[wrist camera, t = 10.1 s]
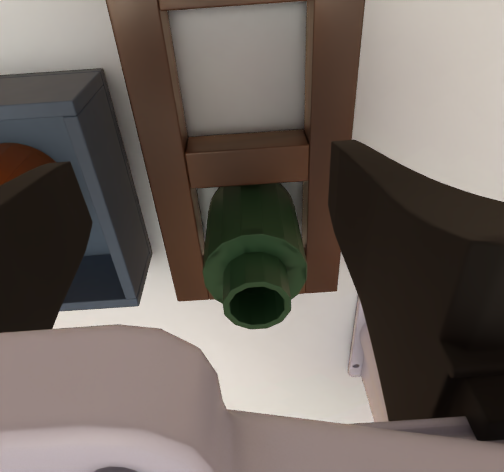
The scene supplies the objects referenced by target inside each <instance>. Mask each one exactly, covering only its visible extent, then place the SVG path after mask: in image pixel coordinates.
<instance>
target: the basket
mask: <svg viewBox="0 0 504 472" xmlns="http://www.w3.org/2000/svg"><path fill="white" fill-rule="evenodd" d="M0 143H18V144H23V145H27V146H30V147H33V148H35V149H37V150H39V151H41V152H43V153H45V154H46V155H48V156H49V157H51V158H52V159H53V160H54V161H55V162H68V161H70V162H71V165H72V167H73V170H74V173H75V175H76V178H77V181H78V184H79V186H80V189H81V192H82V194H83V197H84V200H85V202H86V205H87V208H88V211H89V213H90V216H91V219H92V221H93V224H92V228H91V233H90V237H89V241H88V244H87V248H86V251H85V254H84V256H83V259H82V261H81V263H80V265H79V268H78V270H77V272H76V275H75V277H74V279H73V281H72V284H71V286H70V288H69V290H68V292H67V295H66V297H65V299H64V301H63V304H62V306H61V308H60V310H59V311H72V310H87V309H103V308H118V307H133V306H139V304H140V300H141V296H142V292H143V288H144V284H145V280H146V276H147V272H148V268H149V264H150V260H151V257H152V251H151V247H150V243H149V240H148V236H147V232H146V228H145V225H144V221H143V217H142V213H141V210H140V206H139V202H138V198H137V195H136V191H135V187H134V183H133V180H132V176H131V172H130V168H129V165H128V161H127V157H126V153H125V150H124V146H123V142H122V139H121V135H120V131H119V127H118V124H117V120H116V116H115V112H114V109H113V105H112V101H111V97H110V94H109V90H108V86H107V82H106V79H105V75H104V71H103V69H87V70H73V71H59V72H44V73H30V74H16V75H1V76H0Z"/></svg>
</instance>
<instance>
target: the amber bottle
mask: <svg viewBox="0 0 504 472" xmlns="http://www.w3.org/2000/svg"><path fill="white" fill-rule="evenodd" d="M47 163H55V161H54V160H53V159H52V158H51V157H49V156H48V155H46V154H45V153H43V152H41V151H39V150H37V149H35V148H33V147H30V146H27V145H23V144H18V143H0V185H2V184H4V183H6V182H8V181H10V180H12V179H14V178H16V177H17V176H19V175H21V174H23V173H25V172H27V171H29V170H32V169H34V168H36V167H38V166H41V165H44V164H47Z"/></svg>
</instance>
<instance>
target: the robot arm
mask: <svg viewBox="0 0 504 472" xmlns="http://www.w3.org/2000/svg"><path fill="white" fill-rule="evenodd" d="M328 208H329V212H330V217H331V222H332V226H333V230H334V234H335V236H336V239H337V242H338V244H339V247H340V249H341V252H342V255H343V257H344V260H345V262H346V265H347V267H348V270H349V272H350V275H351V278H352V280H353V283H354V285H355V288H356V290H357V293H358V296H359V297H358V303H357V310H356V317H355V324H354V331H353V338H352V345H351V352H350V359H349V366H348V373H349V375H350V376H352V377H359V376H361V377H362V380H363V384H364V387H365V391H366V394H367V398H368V401H369V405H370V408H371V412H372V415H373V419H374V422H372V423H357V424H341V423H333V422H325V421H317V420H309V419H301V418H293V417H285V416H277V415H269V414H261V413H253V412H245V411H237V410H229V409H226V407H225V405H224V402H223V400H222V395H221V390H220V385H219V380H218V375H217V373H216V371H215V370H214V368H213V367H212V366H211V364H210V363H209V361H208V360H207V358H206V357H205V355H204V354H203V352H202V351H201V349H199V348H198V347H196V346H195V345H193V344H191V343H189V342H187V341H184V340H182V339H180V338H178V337H176V336H174V335H172V334H170V333H168V332H166V331H164V330H162V329H158V328H148V327H138V326H128V325H118V324H117V325H103V326H89V327H75V328H61V329H52V328H53V325H54V323H55V320H56V318H57V315H58V312H59V310H60V308H61V306H62V304H63V301H64V299H65V297H66V295H67V292H68V290H69V288H70V286H71V284H72V281H73V279H74V277H75V275H76V272H77V270H78V268H79V265H80V263H81V261H82V259H83V256H84V254H85V251H86V248H87V244H88V241H89V237H90V233H91V228H92V224H93V221H92V219H91V216H90V213H89V211H88V208H87V205H86V202H85V200H84V197H83V194H82V192H81V189H80V186H79V184H78V181H77V178H76V175H75V173H74V170H73V167H72V165H71V162H70V161H68V162H55V163H47V164H44V165H41V166H38V167H36V168H34V169H32V170H29V171H27V172H25V173H23V174H21V175H19V176H17V177H16V178H14V179H12V180H10V181H8V182H6V183H4V184H2V185H0V472H504V202H501V201H497V200H493V199H490V198H486V197H482V196H478V195H475V194H472V193H468V192H465V191H462V190H460V189H457V188H454V187H451V186H448V185H446V184H443V183H440V182H438V181H435V180H433V179H430V178H428V177H426V176H424V175H422V174H419V173H417V172H415V171H413V170H411V169H409V168H407V167H405V166H403V165H401V164H399V163H397V162H395V161H394V160H392V159H390V158H388V157H386V156H384V155H383V154H381V153H379V152H377V151H376V150H374V149H372V148H370V147H368V146H367V145H365V144H363V143H361V142H359V141H356V140H343V141H331V158H330V176H329V194H328Z"/></svg>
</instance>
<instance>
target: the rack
mask: <svg viewBox="0 0 504 472" xmlns="http://www.w3.org/2000/svg"><path fill="white" fill-rule="evenodd" d="M296 1H307V16H306V63H305V110H304V129H297V130H283V131H268V132H254V133H239V134H224V135H210V136H195V137H188V135H187V129H186V123H185V116H184V110H183V104H182V98H181V92H180V85H179V79H178V73H177V67H176V61H175V55H174V48H173V42H172V36H171V30H170V24H169V17H168V11H169V10H183V9H197V8H211V7H225V6H239V5H254V4H268V3H282V2H296ZM106 4H107V8H108V12H109V16H110V21H111V25H112V29H113V33H114V37H115V41H116V46H117V50H118V54H119V58H120V62H121V66H122V71H123V75H124V79H125V83H126V87H127V91H128V96H129V100H130V104H131V108H132V112H133V116H134V121H135V125H136V129H137V133H138V137H139V142H140V146H141V150H142V154H143V158H144V162H145V167H146V171H147V175H148V179H149V183H150V187H151V192H152V196H153V200H154V204H155V208H156V212H157V217H158V221H159V225H160V229H161V233H162V237H163V242H164V246H165V250H166V254H167V258H168V262H169V267H170V271H171V275H172V279H173V283H174V287H175V292H176V296H177V300H178V301H193V300H208V299H210V300H211V299H214V297H213V296H212V295H211V293H210V292H209V291H208V290H207V288H206V287H205V283H204V277H203V262H204V251H205V240H204V234H203V228H202V221H201V215H200V209H199V203H198V197H197V190H196V188H210V187H225V186H239V185H254V184H269V183H284V182H299V181H303V205H302V243H303V248H304V252H305V257H306V262H307V280H306V282H305V284H304V285H303V287H302V289H301V291H300V292H299V294H303V293H318V292H333V291H337V285H338V275H339V264H340V254H341V249H340V247H339V244H338V242H337V239H336V236H335V234H334V230H333V226H332V222H331V217H330V212H329V208H328V194H329V176H330V158H331V141H343V140H352V130H353V119H354V109H355V99H356V88H357V78H358V68H359V57H360V47H361V37H362V26H363V16H364V6H365V0H106Z"/></svg>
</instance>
